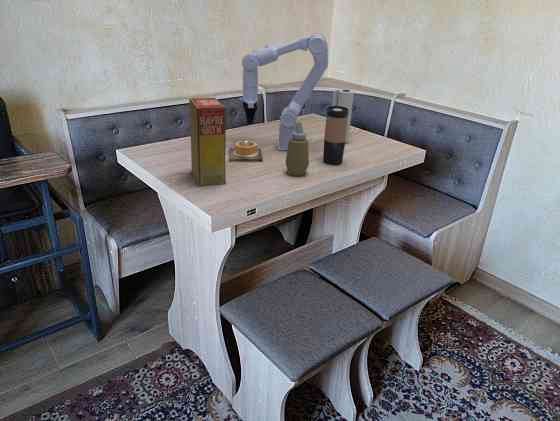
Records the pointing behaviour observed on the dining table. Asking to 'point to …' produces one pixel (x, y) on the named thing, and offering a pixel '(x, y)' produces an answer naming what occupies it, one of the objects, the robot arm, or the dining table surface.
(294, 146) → the squeeze bottle
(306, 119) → the dining table surface
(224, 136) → the food packaging
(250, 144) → the wooden ring
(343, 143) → the travel mug
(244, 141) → the steel shaft
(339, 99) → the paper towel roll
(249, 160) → the walnut base plate
